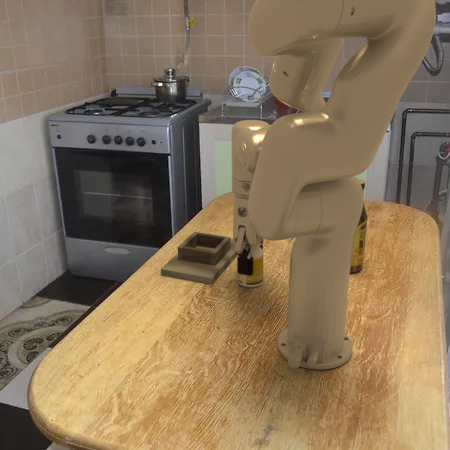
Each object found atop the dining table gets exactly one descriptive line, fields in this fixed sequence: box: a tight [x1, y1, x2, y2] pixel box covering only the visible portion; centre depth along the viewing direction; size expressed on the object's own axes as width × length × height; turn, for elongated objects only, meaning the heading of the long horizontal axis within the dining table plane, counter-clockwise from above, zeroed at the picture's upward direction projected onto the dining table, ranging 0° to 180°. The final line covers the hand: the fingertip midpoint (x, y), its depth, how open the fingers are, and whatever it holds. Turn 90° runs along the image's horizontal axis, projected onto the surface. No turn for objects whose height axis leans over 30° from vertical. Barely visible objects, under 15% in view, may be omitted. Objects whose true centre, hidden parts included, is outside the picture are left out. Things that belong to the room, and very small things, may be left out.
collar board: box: [160, 231, 237, 285], centre depth 124 cm, size 20×12×4 cm, turn 158°
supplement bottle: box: [236, 240, 264, 288], centre depth 114 cm, size 5×5×10 cm
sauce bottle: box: [350, 178, 369, 274], centre depth 118 cm, size 7×6×20 cm
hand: (250, 266), depth 114 cm, fingers closed on supplement bottle, 5 cm apart
